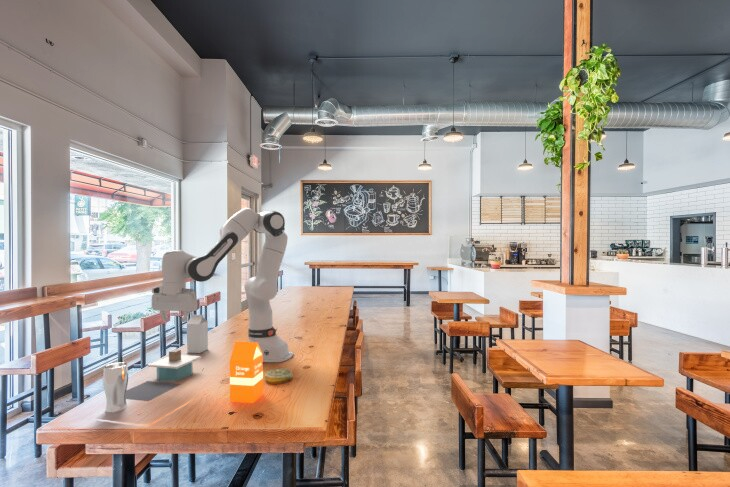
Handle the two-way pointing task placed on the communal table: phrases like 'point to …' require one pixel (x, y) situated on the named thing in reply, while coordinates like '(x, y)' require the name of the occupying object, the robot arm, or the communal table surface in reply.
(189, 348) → the milk carton
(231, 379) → the orange juice
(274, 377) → the decorated donut
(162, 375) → the bowl
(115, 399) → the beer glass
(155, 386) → the mat
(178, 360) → the lid
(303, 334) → the communal table surface
